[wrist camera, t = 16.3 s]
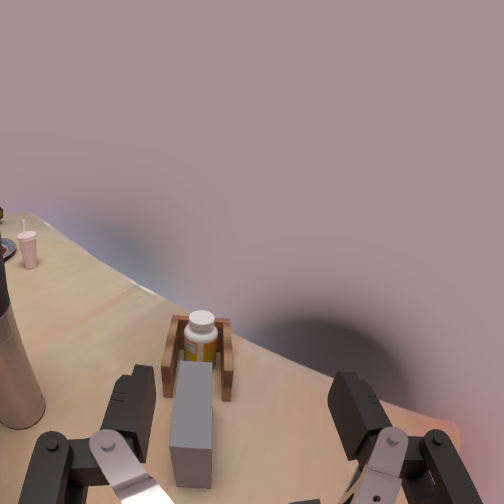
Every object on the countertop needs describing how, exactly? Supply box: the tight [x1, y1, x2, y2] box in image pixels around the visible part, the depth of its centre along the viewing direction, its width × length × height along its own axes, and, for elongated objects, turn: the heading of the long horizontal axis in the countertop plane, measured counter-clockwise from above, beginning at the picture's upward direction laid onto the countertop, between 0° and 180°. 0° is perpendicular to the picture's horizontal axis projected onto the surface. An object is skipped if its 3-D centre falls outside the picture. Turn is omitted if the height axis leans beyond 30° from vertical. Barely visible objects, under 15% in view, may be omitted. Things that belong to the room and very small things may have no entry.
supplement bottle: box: [184, 310, 218, 369], centre depth 48 cm, size 5×5×10 cm
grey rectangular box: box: [169, 360, 212, 489], centre depth 32 cm, size 13×4×10 cm, turn 5°
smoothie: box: [17, 220, 37, 269], centre depth 69 cm, size 6×6×14 cm
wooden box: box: [161, 315, 233, 401], centre depth 47 cm, size 13×10×6 cm
